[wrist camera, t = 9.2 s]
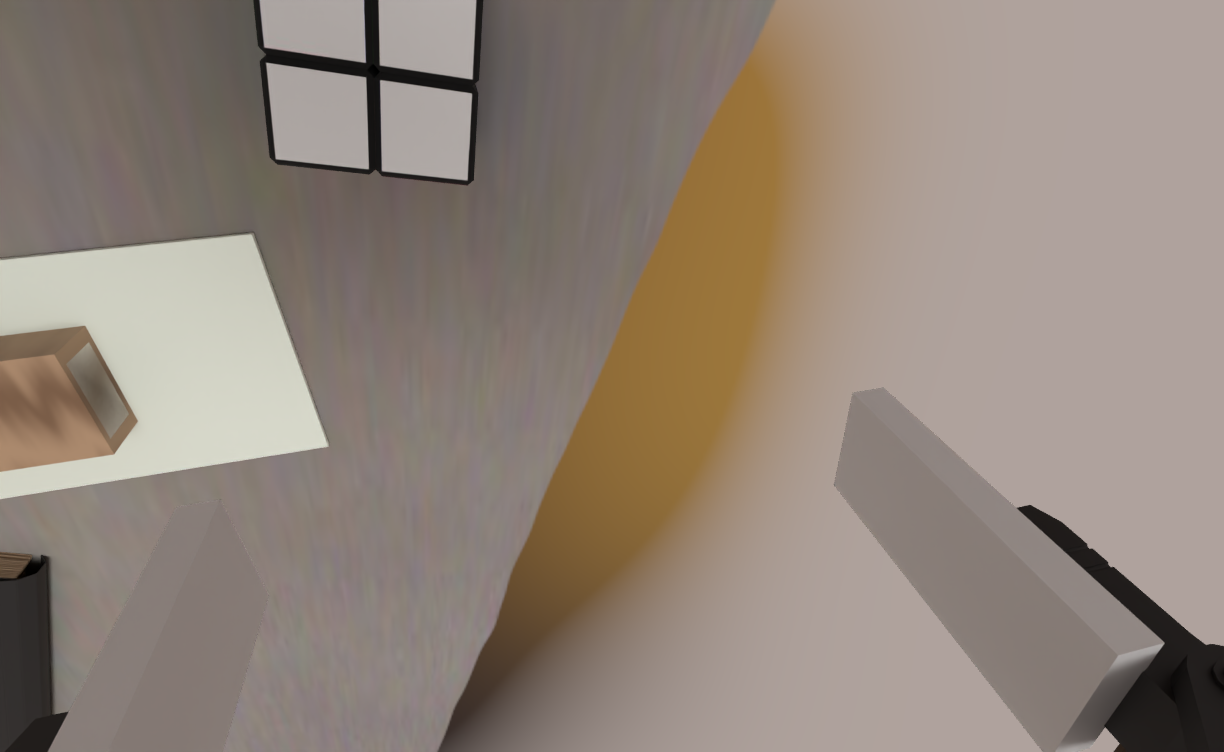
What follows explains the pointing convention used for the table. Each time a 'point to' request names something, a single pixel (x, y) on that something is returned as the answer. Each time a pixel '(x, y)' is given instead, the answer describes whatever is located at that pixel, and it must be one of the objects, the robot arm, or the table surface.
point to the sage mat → (170, 353)
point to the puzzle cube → (372, 85)
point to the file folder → (22, 647)
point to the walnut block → (58, 400)
